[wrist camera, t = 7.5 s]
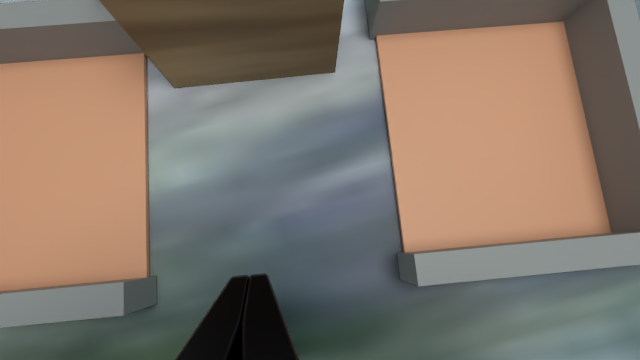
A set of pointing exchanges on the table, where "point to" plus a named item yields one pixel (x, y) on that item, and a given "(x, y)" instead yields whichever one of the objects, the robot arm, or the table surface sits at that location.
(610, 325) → the table surface
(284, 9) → the walnut block
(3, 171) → the trap lane
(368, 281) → the table surface
